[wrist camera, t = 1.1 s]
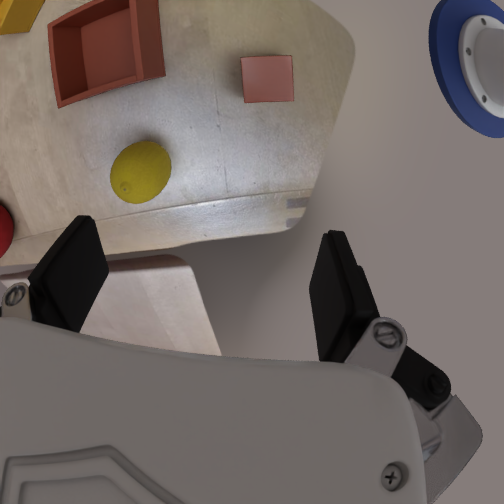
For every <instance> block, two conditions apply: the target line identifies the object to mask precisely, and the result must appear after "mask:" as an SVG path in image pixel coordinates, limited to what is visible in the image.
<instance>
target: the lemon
mask: <svg viewBox="0 0 504 504" xmlns="http://www.w3.org/2000/svg"><path fill="white" fill-rule="evenodd" d="M170 174H171V160H170V158H169V155H168V153H167V152H166V150H165V149H164V148H163V147H162V146H160V145H159V144H157V143H155V142H150V141H140V142H136V143H133V144H131V145H129V146H128V147H126V148H125V149H124V150H122V152H121V153H120V154H119V155H118V156H117V158H116V159H115V161H114V163H113V165H112V168H111V173H110V182H111V186H112V189H113V191H114V192H115V194H116V195H117V196H118V197H119V198H120V199H122V200H123V201H125V202H128V203H133V204H139V203H144V202H147V201H149V200H151V199H153V198H154V197H155V196H157V195H158V194H159V193H160V192H161V191H162V190H163V189H164V187H165V186H166V184H167V182H168V180H169V178H170Z"/></svg>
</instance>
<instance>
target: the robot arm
mask: <svg viewBox="0 0 504 504" xmlns="http://www.w3.org/2000/svg"><path fill="white" fill-rule="evenodd" d="M458 52H459V60H460V65H461V69H462V73H463V76H464V79H465V82H466V84H467V86H468V88H469V91H470V93H471V94H472V96H473V97H474V99H475V100H476V102H477V103H478V104H479V105H480V106H481V107H482V108H483V109H484V110H485V111H486V112H488V113H490V114H492V115H494V116H497V117H499V118H504V24H502V23H501V22H500V21H499V20H497V19H495V18H493V17H491V16H487V15H475V16H472V17H470V18H469V19H467V20H466V22H465V23H464V24H463V26H462V29H461V31H460V35H459V46H458ZM108 273H109V268H108V264H107V261H106V258H105V255H104V252H103V248H102V245H101V242H100V238H99V235H98V231H97V227H96V224H95V221H94V220H93V219H92V218H91V216H86V215H79V216H77V217H76V218H75V219H74V220H73V221H72V222H71V223H70V225H69V226H68V227H67V228H66V229H65V230H64V232H63V233H62V234H61V235H60V236H59V238H58V239H57V240H56V241H55V243H54V244H53V245H52V246H51V248H50V249H49V250H48V251H47V253H46V254H45V255H44V257H43V258H42V259H41V260H40V262H39V263H38V264H37V266H36V267H35V269H34V270H33V271H32V273H31V274H30V276H29V277H28V280H29V282H30V286H29V287H28V285H27V284H26V283H23V282H20V283H16V284H14V285H12V286H11V287H9V288H8V289H7V291H6V292H5V293H4V295H3V297H2V306H1V307H0V504H432V503H434V502H435V500H436V499H437V498H438V497H439V496H440V495H441V494H442V493H443V492H444V491H445V490H446V488H447V487H448V486H449V485H450V484H451V483H452V482H453V480H454V479H455V478H456V477H457V476H458V475H459V473H460V472H461V471H462V470H463V468H464V467H465V466H466V464H467V463H468V462H469V461H470V459H471V458H472V456H473V455H474V454H475V452H476V451H477V449H478V448H479V447H480V444H481V442H482V437H483V435H482V429H481V427H480V425H479V424H478V423H477V421H476V420H475V419H474V417H473V416H472V415H471V413H470V412H469V411H468V409H467V408H466V407H465V406H464V404H463V403H462V402H461V400H460V399H459V398H458V397H457V395H454V396H452V395H451V393H450V392H451V384H450V381H449V378H448V377H447V375H446V374H445V373H444V372H443V371H442V370H440V369H439V368H438V367H436V366H434V364H432V363H431V362H429V361H428V360H426V359H425V358H424V357H422V356H421V355H419V354H418V353H416V352H415V351H414V350H412V349H411V348H410V347H408V346H407V345H406V344H407V334H406V332H405V330H404V328H403V327H402V326H401V324H399V323H398V322H397V321H396V320H393V319H391V318H387V317H380V315H379V312H378V309H377V306H376V303H375V300H374V298H373V295H372V292H371V289H370V286H369V284H368V281H367V278H366V276H365V273H364V271H363V268H362V267H361V266H358V265H357V263H356V260H355V258H354V255H353V252H352V250H351V247H350V245H349V243H348V240H347V237H346V235H345V233H344V232H343V231H335V230H329V231H328V234H327V233H324V234H323V237H322V241H321V245H320V248H319V252H318V256H317V260H316V263H315V267H314V270H313V274H312V278H311V281H310V286H309V294H310V299H311V306H312V313H313V319H314V326H315V333H316V340H317V348H318V355H319V361H320V362H317V361H292V360H271V359H252V358H238V357H226V356H215V355H205V354H196V353H188V352H180V351H172V350H165V349H159V348H152V347H146V346H140V345H134V344H129V343H123V342H118V341H113V340H108V339H103V338H99V337H94V336H90V335H85V334H81V333H79V332H80V330H81V328H82V325H83V323H84V321H85V319H86V317H87V315H88V313H89V311H90V309H91V307H92V305H93V303H94V301H95V299H96V297H97V295H98V293H99V291H100V289H101V287H102V285H103V283H104V282H105V280H106V278H107V276H108Z"/></svg>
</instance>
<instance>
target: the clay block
mask: <svg viewBox="0 0 504 504" xmlns="http://www.w3.org/2000/svg"><path fill="white" fill-rule="evenodd" d="M240 59H241V71H242V82H243V94H244V103H255V102H280V101H294V87H293V66H292V56H291V55H277V56H252V57H241V58H240Z"/></svg>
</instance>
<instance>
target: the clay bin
mask: <svg viewBox="0 0 504 504" xmlns="http://www.w3.org/2000/svg"><path fill="white" fill-rule="evenodd" d="M48 41H49V53H50V62H51V70H52V77H53V83H54V89H55V95H56V101H57V106H58V108H61V107H64V106H67V105H69V104H72V103H75V102H78V101H81V100H84V99H87V98H90V97H92V96H95V95H98V94H101V93H104V92H107V91H110V90H114V89H117V88H120V87H124V86H127V85H131V84H134V83H138V82H142V81H146V80H150V79H154V78H159V77H163V76H166V74H165V66H164V58H163V49H162V40H161V30H160V19H159V7H158V0H93V1H90V2H88V3H86V4H84V5H82V6H80V7H78V8H76V9H74V10H72V11H70V12H68V13H67V14H65V15H63V16H61V17H59V18H58V19H56V20H54V21H53V22H51V23H49V24H48Z"/></svg>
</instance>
